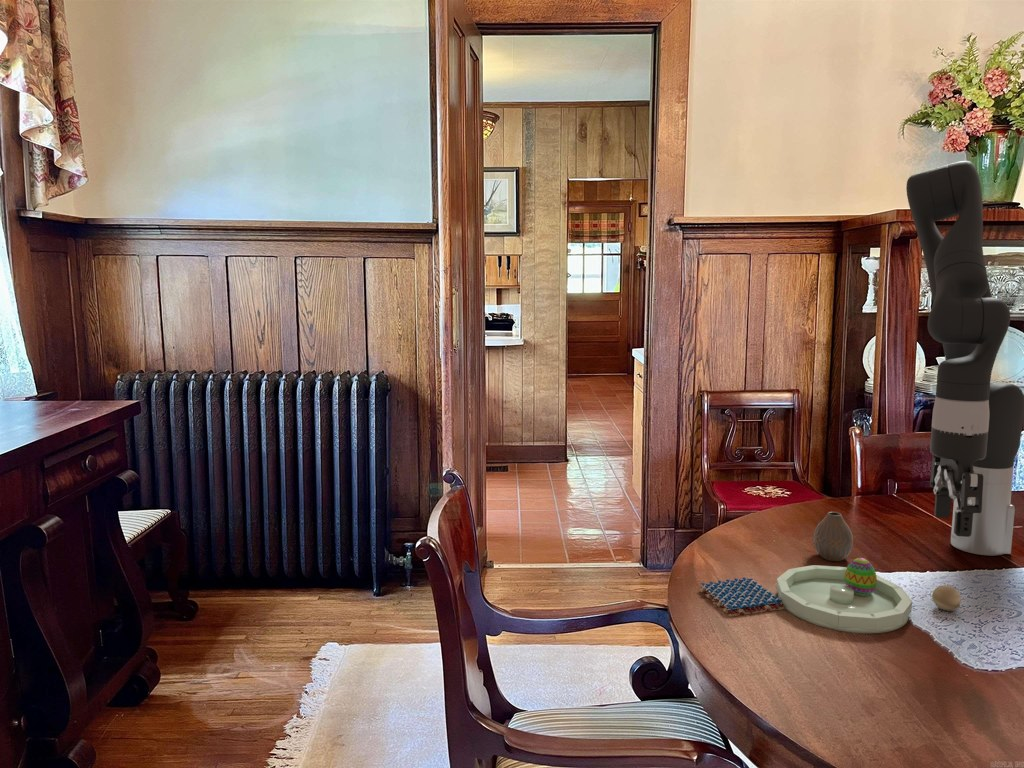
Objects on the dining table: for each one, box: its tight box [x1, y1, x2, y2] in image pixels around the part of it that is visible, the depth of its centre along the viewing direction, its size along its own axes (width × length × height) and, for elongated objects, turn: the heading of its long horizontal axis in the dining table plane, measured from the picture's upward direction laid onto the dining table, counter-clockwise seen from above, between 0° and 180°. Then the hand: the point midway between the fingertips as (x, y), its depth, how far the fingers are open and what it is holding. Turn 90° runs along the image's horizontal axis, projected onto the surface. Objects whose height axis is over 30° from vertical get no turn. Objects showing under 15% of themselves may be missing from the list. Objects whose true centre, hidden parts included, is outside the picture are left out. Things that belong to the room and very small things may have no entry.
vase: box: [813, 511, 854, 562], centre depth 138 cm, size 7×7×9 cm
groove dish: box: [776, 564, 913, 634], centre depth 119 cm, size 20×20×3 cm
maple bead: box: [931, 584, 962, 612], centre depth 116 cm, size 4×4×4 cm
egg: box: [844, 557, 877, 596], centre depth 121 cm, size 5×5×6 cm
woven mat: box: [699, 576, 786, 617], centre depth 121 cm, size 10×11×2 cm
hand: (951, 526), depth 114 cm, fingers open, 8 cm apart
